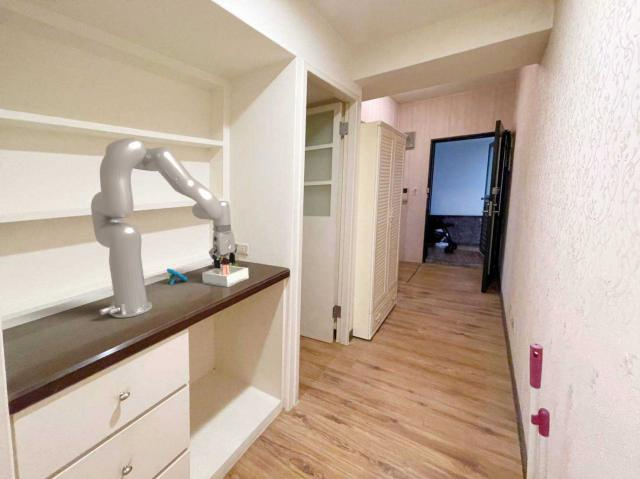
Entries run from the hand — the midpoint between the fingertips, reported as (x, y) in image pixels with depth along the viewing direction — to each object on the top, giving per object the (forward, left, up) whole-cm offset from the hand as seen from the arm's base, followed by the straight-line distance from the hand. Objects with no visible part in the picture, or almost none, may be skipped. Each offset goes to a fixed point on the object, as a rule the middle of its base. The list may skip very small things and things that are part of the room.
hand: (225, 265), depth 139 cm
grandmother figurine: (0, 0, -6) cm, 6 cm away
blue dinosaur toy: (-11, +19, -8) cm, 23 cm away
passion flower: (+16, +15, -8) cm, 23 cm away
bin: (0, 0, -7) cm, 7 cm away
